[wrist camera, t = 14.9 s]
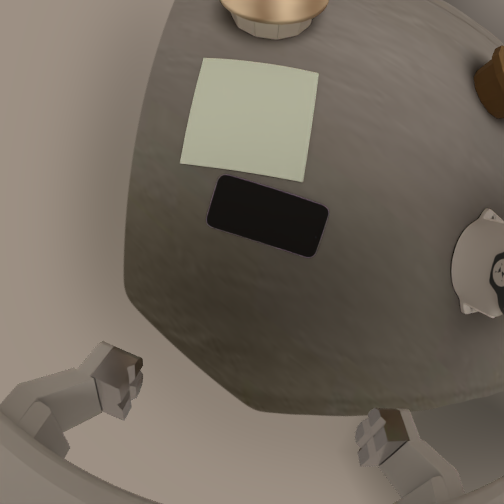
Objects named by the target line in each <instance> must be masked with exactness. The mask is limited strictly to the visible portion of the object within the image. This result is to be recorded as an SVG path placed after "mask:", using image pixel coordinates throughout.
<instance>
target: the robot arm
mask: <svg viewBox="0 0 504 504" xmlns="http://www.w3.org/2000/svg"><path fill="white" fill-rule="evenodd" d="M451 275H452V283H453V287H454V289H455V292H456V293H457V295H458V297H459V299H460V308H461V312H462V313H464V314H470V313H475V312H481V313H483V314H485V315H487V316H489V317H491V318H495V317H497V316H500V315H502V314H504V221H503V220H502V219H501V218H500V217H499V216H498V215H497V214H496V213H495V212H493V211H492V210H491V209H488V208H486V209H485V210H484V211H483V212H482V214H481V215H480V217H479V218H478V219H477V220H476V221H474V222H473V223H471V224H470V225H469V226H468V227H467V228H466V229H465V230H464V232H463V233H462V235H461V236H460V238H459V240H458V242H457V245H456V248H455V251H454V254H453V259H452V269H451ZM142 366H143V360H142V358H141V357H137V356H136V355H133V354H131V353H129V352H126V351H124V350H122V349H120V348H117V347H115V346H113V345H110V344H108V343H106V342H104V341H102V342H100V343H99V344H98V345H97V346H96V347H95V348H94V350H93V351H92V352H91V353H90V354H89V355H88V357H87V358H86V359H85V360H84V362H83V363H82V364H81V365H80V366H79V367H78V369H75V368H71V369H68V370H65V371H61V372H58V373H55V374H51V375H48V376H45V377H41V378H38V379H34V380H31V381H27V382H23V383H20V384H18V385H17V386H16V387H15V388H14V389H13V390H12V391H11V393H10V394H9V395H8V396H7V397H6V398H5V400H4V401H3V402H2V403H1V404H0V504H162V503H158V502H156V501H153V500H150V499H147V498H144V497H141V496H139V495H136V494H134V493H131V492H129V491H126V490H124V489H121V488H119V487H117V486H114V485H113V484H110V483H108V482H106V481H104V480H102V479H100V478H98V477H96V476H94V475H92V474H90V473H88V472H87V471H85V470H83V469H81V468H79V467H77V466H76V465H74V464H72V463H71V462H69V461H67V460H66V459H64V458H65V456H66V454H67V452H68V451H69V449H70V446H69V443H68V441H67V440H66V438H65V436H64V434H63V432H65V431H67V430H69V429H71V428H73V427H75V426H77V425H79V424H81V423H83V422H84V421H86V420H88V419H91V418H92V417H94V416H96V415H98V414H100V413H102V411H103V412H105V413H107V414H110V415H112V416H114V417H116V418H119V419H121V420H125V418H126V416H127V415H128V413H129V411H130V409H131V400H133V399H135V398H137V396H138V394H139V392H140V389H141V386H142V382H143V374H142V372H141V371H140V369H141V368H142ZM355 439H356V443H357V445H358V446H359V447H360V450H359V451H358V456H359V463H360V466H379V468H380V470H381V471H382V472H383V473H384V475H385V476H386V478H387V479H388V480H389V482H390V483H391V484H392V486H393V487H394V488H395V490H396V491H397V492H398V494H399V495H400V496H401V497H402V498H401V499H400V500H398V501H396V502H394V503H393V504H504V476H502V477H500V478H498V479H497V480H495V481H493V482H491V483H489V484H487V485H485V486H482V487H480V488H478V489H476V490H474V491H471V492H469V493H467V494H465V492H464V489H463V486H462V483H461V480H460V476H459V474H458V471H457V470H456V469H455V468H454V467H453V466H452V465H451V464H450V463H449V462H447V461H446V460H445V459H444V458H443V457H442V456H441V455H440V454H439V453H437V452H436V451H435V450H434V449H433V448H432V447H431V446H430V445H429V444H427V443H426V442H425V441H424V440H420V437H419V434H418V431H417V429H416V426H415V423H414V421H413V418H412V415H411V413H410V411H409V410H408V409H392V408H374V409H372V410H371V411H370V412H369V413H368V418H367V419H365V420H363V421H362V422H361V423H360V424H359V425H358V427H357V430H356V435H355Z"/></svg>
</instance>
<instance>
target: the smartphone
mask: <svg viewBox="0 0 504 504" xmlns="http://www.w3.org/2000/svg"><path fill="white" fill-rule="evenodd" d="M328 217H329V210H328V208H327V207H326V206H325V205H323V204H320V203H317V202H314V201H312V200H309V199H305V198H303V197H300V196H296V195H294V194H291V193H288V192H284V191H281V190H278V189H275V188H272V187H269V186H265V185H262V184H259V183H256V182H252V181H249V180H246V179H242V178H239V177H235V176H232V175H228V174H224V175H221V176H220V177H219V178H218V180H217V183H216V186H215V189H214V193H213V196H212V199H211V203H210V206H209V209H208V213H207V216H206V223H207V225H208V226H210V227H211V228H214V229H217V230H220V231H224V232H227V233H230V234H233V235H236V236H240V237H243V238H246V239H249V240H252V241H255V242H259V243H262V244H265V245H268V246H271V247H274V248H277V249H280V250H284V251H287V252H290V253H293V254H296V255H299V256H302V257H306V258H311V257H313V256H314V255H315V254H316V252H317V250H318V247H319V244H320V241H321V238H322V235H323V232H324V229H325V226H326V223H327V220H328Z"/></svg>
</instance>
